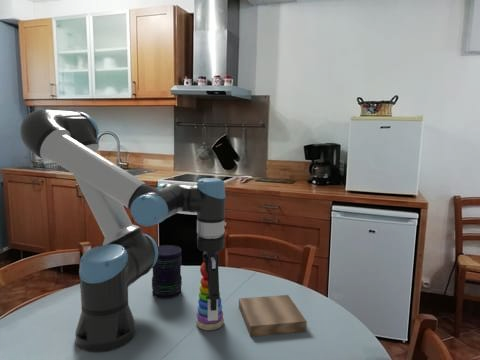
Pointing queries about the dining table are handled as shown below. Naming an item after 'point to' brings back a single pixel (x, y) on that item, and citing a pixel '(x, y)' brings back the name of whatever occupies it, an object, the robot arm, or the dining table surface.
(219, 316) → the stacking toy
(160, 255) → the storage jar
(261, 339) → the dining table surface
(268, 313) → the walnut base
